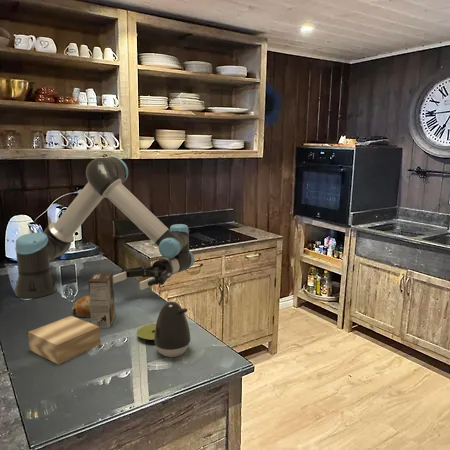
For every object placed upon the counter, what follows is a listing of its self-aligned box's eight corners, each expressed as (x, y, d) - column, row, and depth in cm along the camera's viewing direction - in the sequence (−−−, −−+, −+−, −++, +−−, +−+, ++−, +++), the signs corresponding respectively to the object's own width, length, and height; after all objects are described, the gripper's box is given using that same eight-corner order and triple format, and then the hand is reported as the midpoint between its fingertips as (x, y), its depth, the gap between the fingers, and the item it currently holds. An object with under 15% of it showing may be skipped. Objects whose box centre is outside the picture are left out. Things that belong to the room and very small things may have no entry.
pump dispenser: (176, 365, 110) (174, 312, 107) (147, 355, 115) (145, 304, 113) (198, 349, 119) (197, 300, 116) (170, 341, 124) (169, 293, 121)
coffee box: (96, 317, 142) (93, 272, 139) (115, 316, 142) (113, 271, 139) (90, 328, 133) (87, 280, 130) (110, 327, 133) (108, 280, 130)
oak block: (29, 351, 119) (28, 331, 118) (72, 333, 130) (70, 315, 129) (58, 365, 111) (56, 345, 110) (100, 345, 122) (99, 326, 121)
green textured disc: (180, 333, 129) (180, 327, 129) (158, 348, 119) (158, 342, 119) (152, 326, 134) (152, 320, 134) (129, 340, 125) (128, 334, 124)
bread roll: (90, 328, 141) (98, 309, 139) (64, 314, 142) (72, 295, 140) (104, 317, 150) (111, 299, 148) (80, 304, 151) (87, 286, 149)
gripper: (190, 281, 156) (153, 299, 139) (142, 272, 169) (102, 287, 152) (190, 263, 155) (152, 278, 137) (141, 254, 168) (101, 267, 150)
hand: (126, 283), depth 144 cm, fingers open, 13 cm apart
